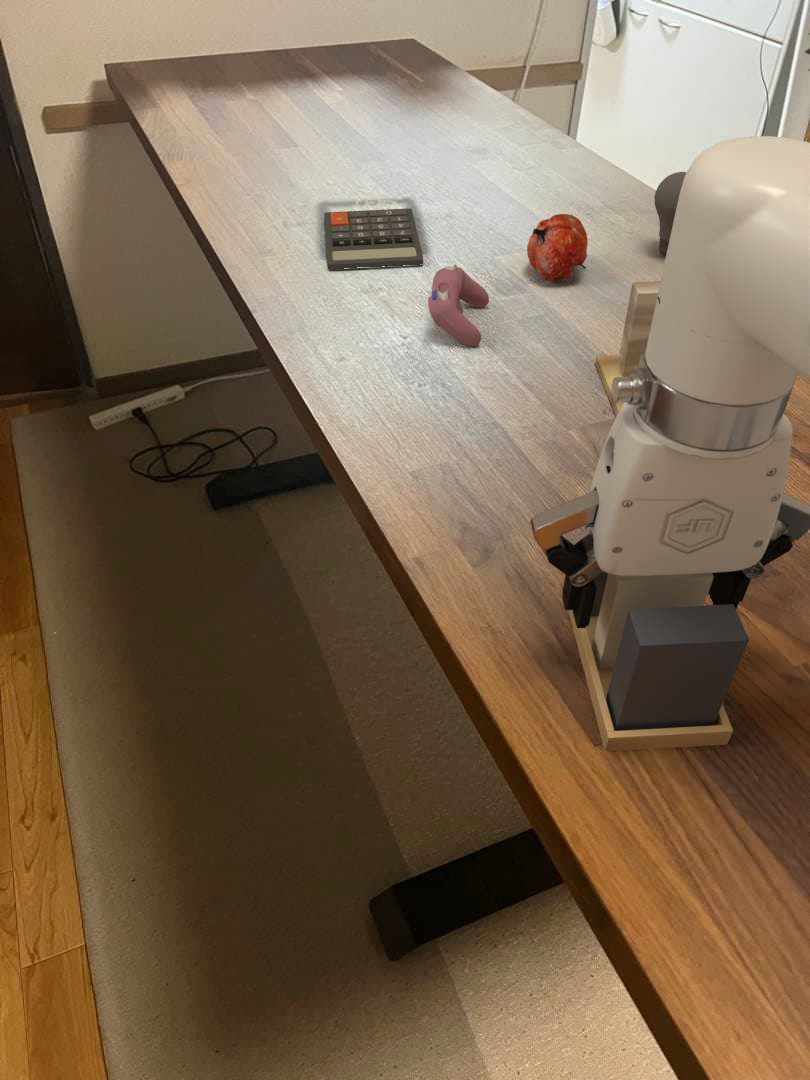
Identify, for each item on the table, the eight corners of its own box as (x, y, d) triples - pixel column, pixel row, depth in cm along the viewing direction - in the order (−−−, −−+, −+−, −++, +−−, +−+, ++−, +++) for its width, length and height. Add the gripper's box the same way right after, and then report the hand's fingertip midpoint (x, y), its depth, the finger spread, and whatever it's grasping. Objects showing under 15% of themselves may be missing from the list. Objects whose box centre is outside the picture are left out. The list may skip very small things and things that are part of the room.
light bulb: (637, 260, 105) (653, 177, 98) (650, 242, 109) (666, 161, 102) (683, 270, 103) (702, 186, 96) (694, 251, 107) (714, 169, 100)
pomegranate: (556, 273, 108) (500, 235, 102) (598, 227, 104) (542, 185, 98) (576, 308, 103) (518, 270, 97) (621, 261, 99) (564, 219, 94)
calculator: (411, 206, 115) (423, 258, 104) (411, 213, 115) (423, 265, 105) (323, 210, 114) (326, 263, 103) (324, 217, 115) (327, 270, 104)
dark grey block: (710, 732, 56) (750, 639, 50) (614, 738, 56) (640, 645, 49) (698, 697, 58) (733, 603, 52) (604, 702, 58) (628, 608, 51)
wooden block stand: (740, 463, 77) (772, 367, 70) (636, 467, 77) (657, 371, 70) (684, 360, 89) (707, 269, 82) (594, 363, 89) (609, 273, 82)
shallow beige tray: (725, 748, 56) (733, 730, 55) (603, 755, 56) (608, 737, 54) (662, 580, 67) (667, 562, 65) (560, 585, 66) (563, 567, 65)
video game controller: (456, 314, 99) (430, 260, 95) (493, 300, 97) (467, 245, 94) (444, 360, 92) (415, 304, 88) (483, 346, 90) (455, 289, 87)
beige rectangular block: (683, 665, 60) (714, 576, 54) (598, 670, 60) (619, 581, 54) (674, 641, 62) (703, 552, 55) (591, 645, 62) (611, 556, 55)
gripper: (561, 444, 43) (528, 660, 55) (903, 430, 43) (796, 646, 55) (536, 361, 48) (511, 574, 60) (840, 350, 49) (755, 562, 61)
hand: (648, 608), depth 58 cm, fingers open, 9 cm apart
